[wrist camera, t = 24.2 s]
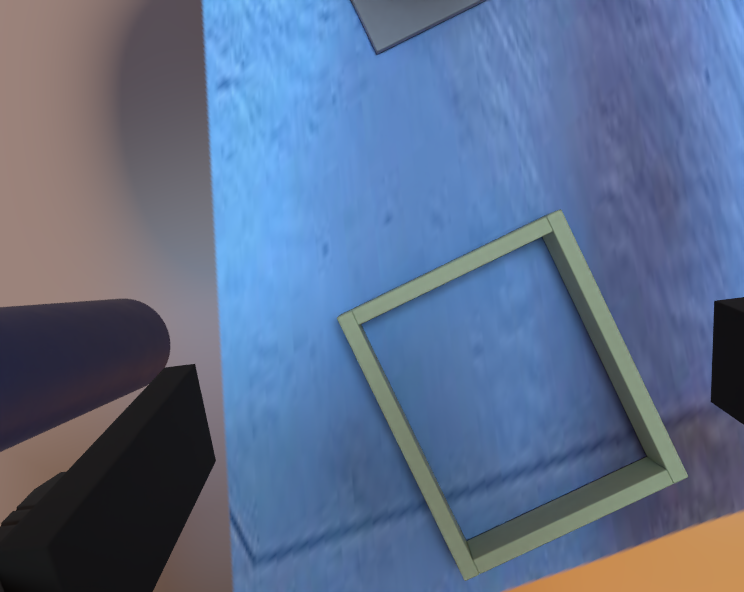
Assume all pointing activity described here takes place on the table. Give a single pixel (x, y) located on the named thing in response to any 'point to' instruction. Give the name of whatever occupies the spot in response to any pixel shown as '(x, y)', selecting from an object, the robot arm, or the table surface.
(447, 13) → the mat
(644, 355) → the table surface
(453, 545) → the green rectangular frame
